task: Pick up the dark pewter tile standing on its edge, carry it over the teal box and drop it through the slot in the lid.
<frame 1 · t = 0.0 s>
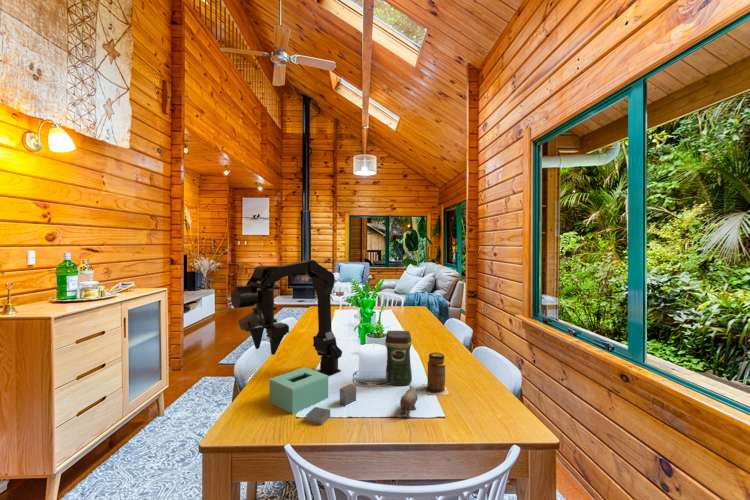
hand: (265, 351, 116), 15 cm above the table, tool pointing down, fingers open, 9 cm apart
condiment: (436, 390, 122), on the table
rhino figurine: (410, 408, 108), on the table
coffee jar: (398, 382, 128), on the table
teal box: (299, 400, 113), on the table
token: (348, 402, 111), on the table
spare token: (318, 420, 101), on the table
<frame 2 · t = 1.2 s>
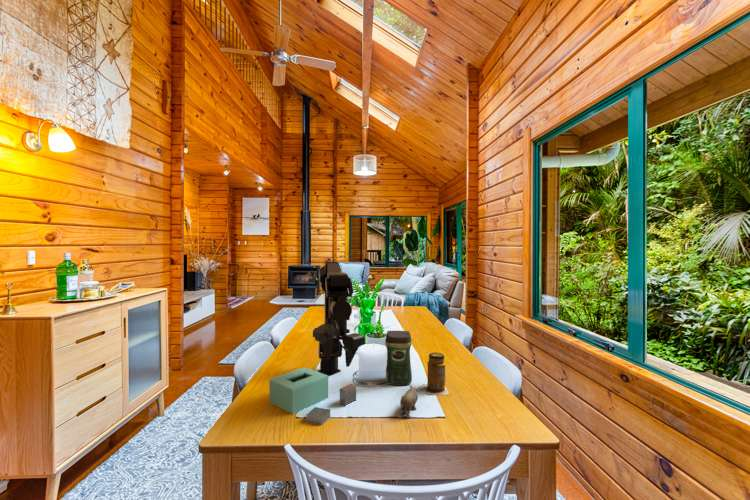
hand: (337, 363, 111), 12 cm above the table, tool pointing down, fingers open, 9 cm apart
nothing on the table moved.
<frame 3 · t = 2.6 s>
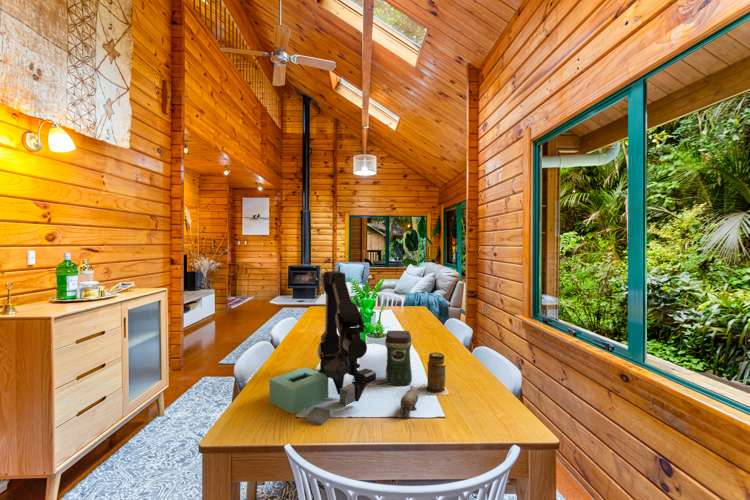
hand: (348, 397, 111), 1 cm above the table, tool pointing down, fingers open, 7 cm apart
nothing on the table moved.
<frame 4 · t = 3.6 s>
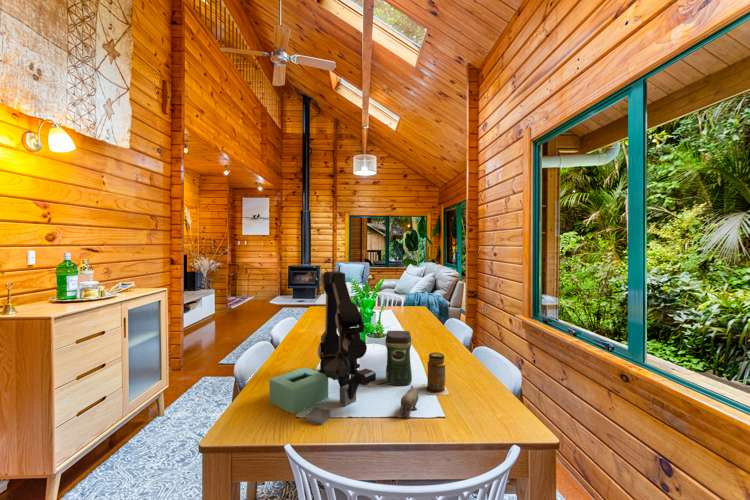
hand: (348, 397, 111), 2 cm above the table, tool pointing down, fingers closed on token, 2 cm apart
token: (348, 401, 111), on the table, touching gripper
everything else where it was.
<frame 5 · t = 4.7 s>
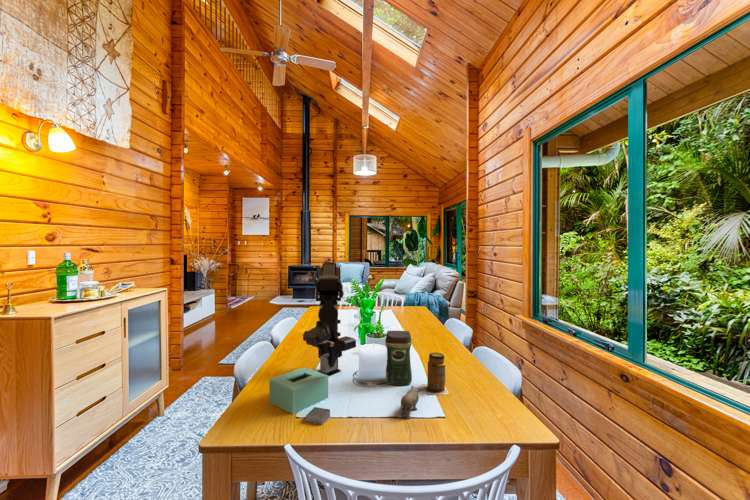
hand: (328, 366, 112), 11 cm above the table, tool pointing down, fingers closed on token, 2 cm apart
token: (328, 370, 112), point 10 cm above the table, touching gripper
everything else where it was.
when the fingers open (8 cm above the table, at t = 6.0 s): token drops 6 cm, resting on teal box.
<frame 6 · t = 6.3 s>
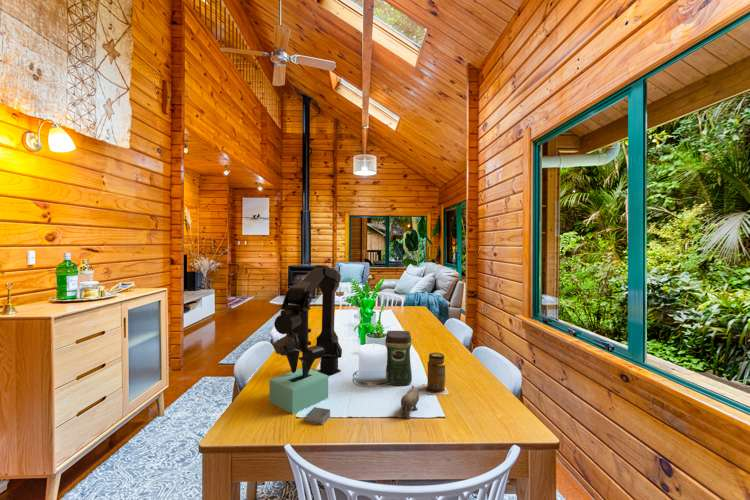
hand: (299, 374, 113), 8 cm above the table, tool pointing down, fingers open, 5 cm apart
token: (299, 398, 113), point 1 cm above the table, touching teal box
everything else where it was.
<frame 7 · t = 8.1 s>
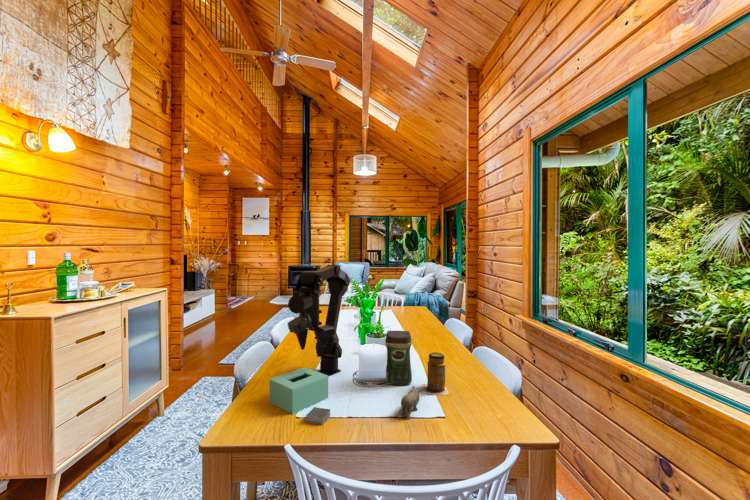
hand: (311, 352, 123), 12 cm above the table, tool pointing down, fingers open, 9 cm apart
nothing on the table moved.
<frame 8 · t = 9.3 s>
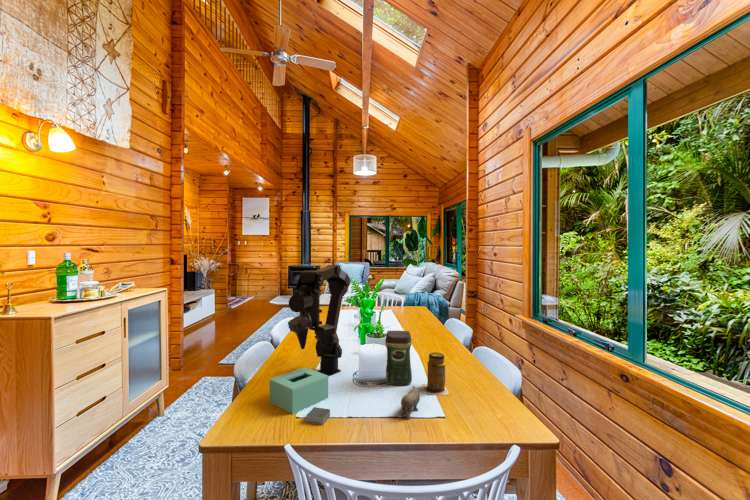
hand: (311, 351, 123), 13 cm above the table, tool pointing down, fingers open, 9 cm apart
nothing on the table moved.
at the end: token inside the target area on the teal box (0.1 cm from its centre), point 0.6 cm above the teal box's base; the gripper is holding nothing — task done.
